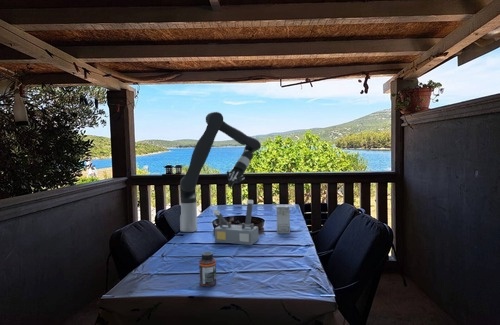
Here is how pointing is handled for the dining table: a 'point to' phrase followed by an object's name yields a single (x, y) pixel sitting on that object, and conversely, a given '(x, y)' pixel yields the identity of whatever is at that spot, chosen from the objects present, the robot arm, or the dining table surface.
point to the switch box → (236, 234)
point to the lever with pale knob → (220, 217)
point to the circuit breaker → (283, 219)
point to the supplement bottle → (207, 269)
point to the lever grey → (248, 213)
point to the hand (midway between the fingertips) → (228, 186)
